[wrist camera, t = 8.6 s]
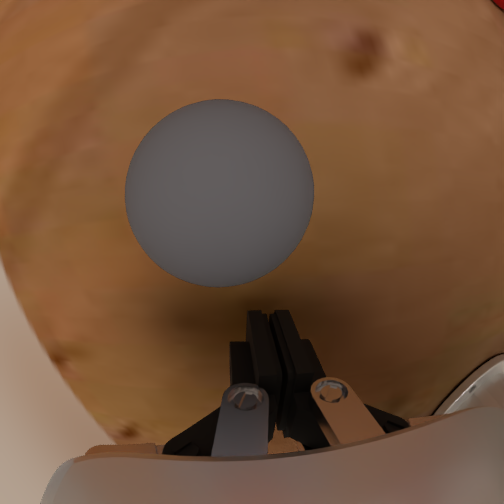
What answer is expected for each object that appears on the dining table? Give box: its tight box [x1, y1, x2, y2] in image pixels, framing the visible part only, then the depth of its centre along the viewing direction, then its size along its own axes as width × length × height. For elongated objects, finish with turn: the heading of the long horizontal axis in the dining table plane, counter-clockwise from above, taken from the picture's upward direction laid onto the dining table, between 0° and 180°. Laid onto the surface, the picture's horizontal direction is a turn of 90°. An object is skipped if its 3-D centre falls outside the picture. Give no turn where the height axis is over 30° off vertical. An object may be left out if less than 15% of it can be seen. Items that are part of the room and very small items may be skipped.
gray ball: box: [125, 99, 314, 287], centre depth 9 cm, size 6×6×6 cm
